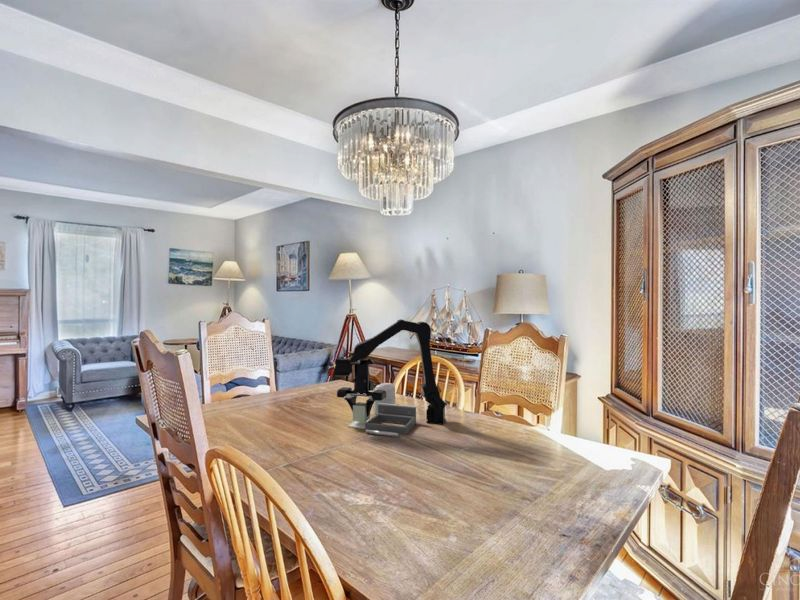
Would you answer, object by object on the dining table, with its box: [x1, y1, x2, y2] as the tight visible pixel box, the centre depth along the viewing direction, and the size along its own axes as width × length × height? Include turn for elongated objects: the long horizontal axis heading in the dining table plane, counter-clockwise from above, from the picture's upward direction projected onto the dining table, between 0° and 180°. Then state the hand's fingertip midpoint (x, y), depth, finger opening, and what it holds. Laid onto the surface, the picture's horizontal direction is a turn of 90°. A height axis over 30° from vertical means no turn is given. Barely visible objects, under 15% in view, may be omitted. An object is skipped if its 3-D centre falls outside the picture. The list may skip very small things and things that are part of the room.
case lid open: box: [378, 403, 417, 424], centre depth 162 cm, size 16×2×6 cm, turn 72°
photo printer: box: [373, 382, 396, 415], centre depth 175 cm, size 10×4×12 cm, turn 134°
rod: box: [365, 429, 400, 438], centre depth 146 cm, size 12×1×1 cm, turn 72°
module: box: [352, 401, 371, 422], centre depth 159 cm, size 5×5×6 cm
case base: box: [364, 413, 416, 435], centre depth 155 cm, size 16×13×3 cm
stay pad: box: [347, 419, 370, 430], centre depth 159 cm, size 7×10×1 cm
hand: (361, 415), depth 159 cm, fingers closed on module, 5 cm apart
